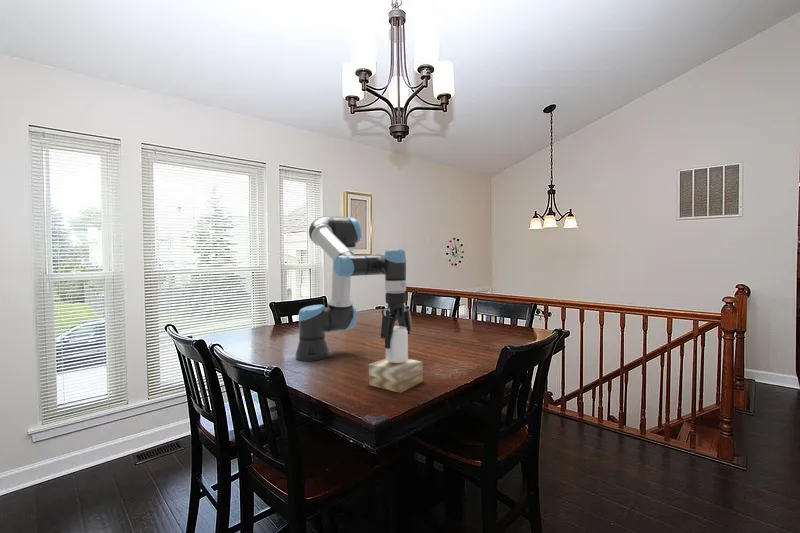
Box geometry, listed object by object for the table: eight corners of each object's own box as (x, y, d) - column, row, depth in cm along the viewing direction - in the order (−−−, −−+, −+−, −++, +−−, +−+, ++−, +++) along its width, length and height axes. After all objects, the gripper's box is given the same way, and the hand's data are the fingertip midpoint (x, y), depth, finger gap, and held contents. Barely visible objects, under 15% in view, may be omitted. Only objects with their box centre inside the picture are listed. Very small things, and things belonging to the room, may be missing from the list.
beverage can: (385, 357, 144) (384, 325, 144) (406, 357, 145) (406, 325, 145) (386, 364, 136) (385, 330, 136) (409, 363, 137) (408, 329, 137)
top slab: (368, 375, 140) (368, 364, 140) (393, 365, 151) (393, 355, 151) (399, 382, 131) (398, 371, 131) (422, 372, 142) (422, 361, 142)
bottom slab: (369, 386, 139) (369, 375, 139) (392, 376, 151) (392, 366, 151) (400, 394, 131) (400, 382, 131) (423, 383, 143) (422, 372, 142)
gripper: (386, 295, 129) (387, 362, 130) (420, 289, 146) (420, 349, 147) (369, 294, 133) (370, 359, 134) (403, 289, 150) (404, 346, 151)
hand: (396, 354), depth 141 cm, fingers closed on beverage can, 8 cm apart
